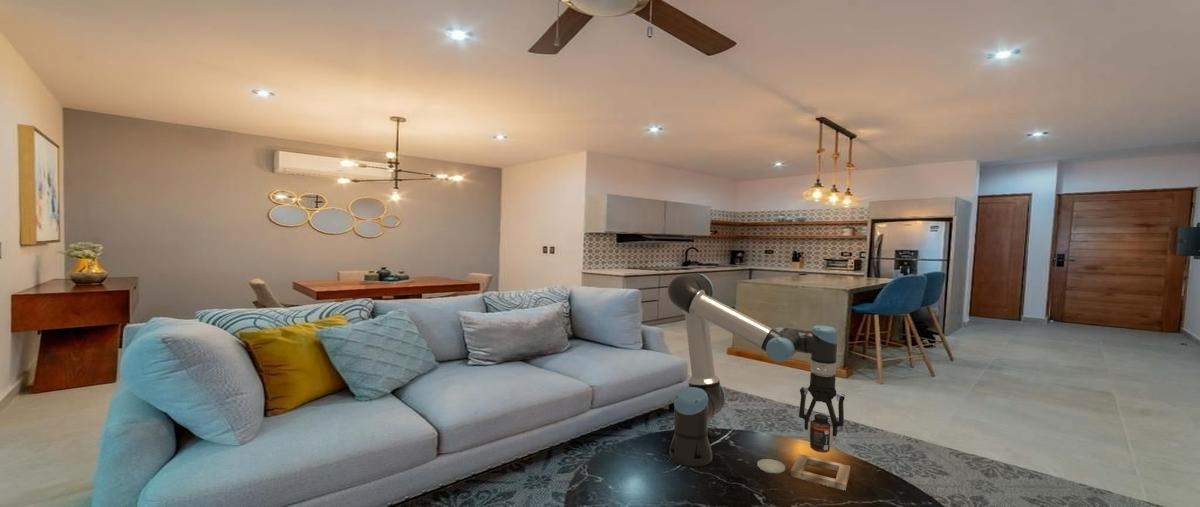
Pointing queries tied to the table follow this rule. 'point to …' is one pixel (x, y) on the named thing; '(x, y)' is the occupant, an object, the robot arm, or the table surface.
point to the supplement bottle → (820, 434)
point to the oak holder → (835, 483)
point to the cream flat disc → (771, 466)
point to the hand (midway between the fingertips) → (820, 442)
